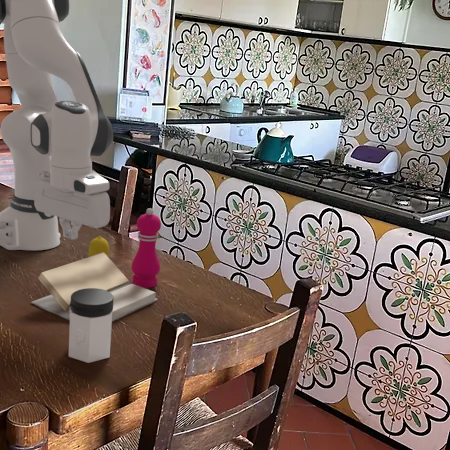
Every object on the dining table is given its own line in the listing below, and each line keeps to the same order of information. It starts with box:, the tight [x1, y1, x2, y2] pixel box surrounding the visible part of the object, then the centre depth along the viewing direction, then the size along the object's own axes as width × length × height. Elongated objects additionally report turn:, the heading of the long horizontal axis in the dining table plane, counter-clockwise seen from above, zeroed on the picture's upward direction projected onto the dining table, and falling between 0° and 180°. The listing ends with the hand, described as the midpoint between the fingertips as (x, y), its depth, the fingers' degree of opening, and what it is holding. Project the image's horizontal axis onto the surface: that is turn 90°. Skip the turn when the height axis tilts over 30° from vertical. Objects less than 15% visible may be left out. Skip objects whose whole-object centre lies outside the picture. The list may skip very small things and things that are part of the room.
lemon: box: [88, 235, 110, 258], centre depth 167 cm, size 6×6×8 cm
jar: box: [68, 288, 114, 364], centre depth 121 cm, size 9×8×12 cm
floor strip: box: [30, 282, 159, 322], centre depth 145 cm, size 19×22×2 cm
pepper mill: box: [130, 207, 162, 289], centre depth 156 cm, size 7×7×20 cm
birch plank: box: [37, 252, 130, 310], centre depth 146 cm, size 10×20×2 cm, turn 149°
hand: (70, 237), depth 140 cm, fingers closed
